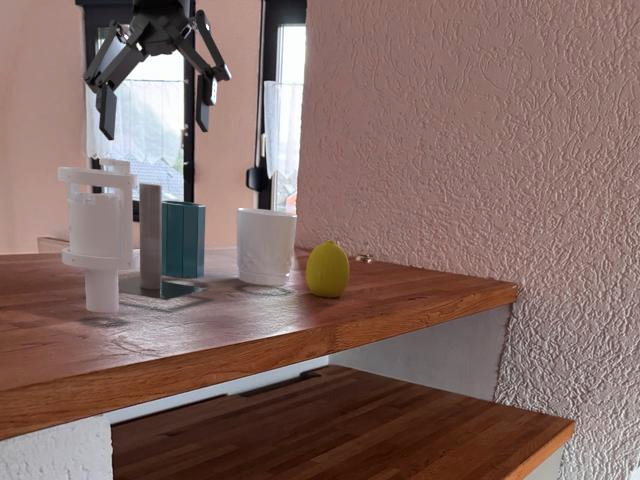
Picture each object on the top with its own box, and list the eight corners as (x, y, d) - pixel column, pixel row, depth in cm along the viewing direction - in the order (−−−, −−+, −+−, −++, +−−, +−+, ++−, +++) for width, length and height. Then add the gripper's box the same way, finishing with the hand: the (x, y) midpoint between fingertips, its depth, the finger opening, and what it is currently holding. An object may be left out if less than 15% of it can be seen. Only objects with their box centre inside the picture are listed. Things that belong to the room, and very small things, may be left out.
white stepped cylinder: (154, 322, 74) (154, 164, 69) (103, 332, 69) (99, 159, 63) (102, 310, 77) (97, 156, 71) (48, 318, 71) (39, 151, 65)
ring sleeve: (145, 281, 95) (144, 200, 91) (170, 276, 101) (171, 199, 97) (188, 289, 94) (189, 206, 90) (211, 283, 100) (213, 205, 96)
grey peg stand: (87, 296, 83) (83, 178, 78) (136, 286, 91) (135, 179, 86) (167, 310, 80) (167, 189, 75) (209, 298, 89) (212, 189, 84)
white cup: (282, 297, 96) (288, 217, 92) (225, 289, 97) (228, 209, 93) (298, 289, 103) (303, 214, 99) (244, 281, 104) (247, 207, 100)
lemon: (295, 300, 95) (300, 236, 92) (328, 299, 98) (334, 237, 95) (320, 309, 91) (326, 242, 88) (354, 307, 95) (361, 243, 92)
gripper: (257, 1, 103) (251, 139, 100) (93, 20, 107) (82, 153, 104) (240, -44, 96) (233, 103, 93) (64, -22, 100) (52, 120, 97)
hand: (153, 130), depth 98 cm, fingers open, 13 cm apart
